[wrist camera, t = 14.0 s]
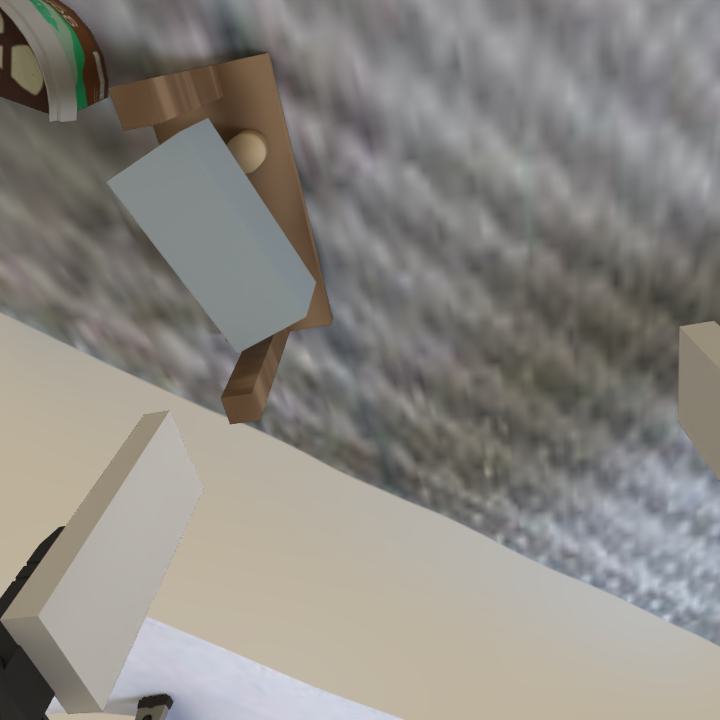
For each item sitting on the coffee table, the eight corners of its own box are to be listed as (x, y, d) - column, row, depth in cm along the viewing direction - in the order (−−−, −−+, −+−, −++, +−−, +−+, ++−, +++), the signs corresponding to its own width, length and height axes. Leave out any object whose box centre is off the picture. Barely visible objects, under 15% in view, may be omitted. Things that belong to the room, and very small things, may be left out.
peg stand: (268, 52, 40) (216, 63, 28) (332, 318, 50) (313, 412, 38) (144, 80, 42) (42, 102, 29) (229, 334, 51) (178, 431, 39)
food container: (142, 10, 40) (71, 5, 31) (128, 105, 43) (60, 125, 34) (-50, -64, 38) (-181, -92, 29) (-51, 39, 41) (-171, 42, 32)
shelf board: (208, 117, 39) (179, 131, 33) (316, 282, 44) (306, 316, 39) (143, 161, 40) (106, 182, 35) (255, 315, 45) (237, 353, 40)
